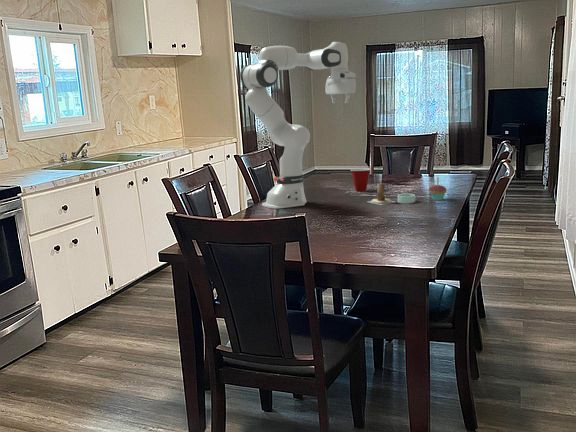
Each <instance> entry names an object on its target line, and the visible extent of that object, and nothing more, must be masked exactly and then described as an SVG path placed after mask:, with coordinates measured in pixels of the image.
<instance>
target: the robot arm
mask: <svg viewBox="0 0 576 432" xmlns="http://www.w3.org/2000/svg"><path fill="white" fill-rule="evenodd" d="M348 63H349V52H348V46H347V44H346V43H345V42H343V41H332V42H331V43H330V44H329V45H328V46H327V47H324V48H321V49H312V50H309V51H308V52H306V53H300V52H299V53H298V52H297V50H296V49H295V47H293V46H288V45H272V46H265V47H263V48H262V49H261V50H260V51H259V55H258V62H256V63H251V64H247V65H245V66H244V67H242V69H241V71H240V73H239V80H240V82H241V83H242V85H243V88H244V90H245V91H246V94H245V97H244V99H245V102H246V104H247V105H248V107H249V108H250V111H252V113H253V114H254V115H255V116H256V117H257V118H258V120H259V121H260V122H261V123H262V124H263V125H264V126H265V128H266V129H267V130H268V132H269V138H270V140H271V142H272V143H273V144H275V145H278V146H280V147H284V149H283V154H282V155H281V156H280V158H279V162H278V163H279V176H273V181H276V182H277V183H276V184H275V185H274V186H273V187H272V188H271V189H270V190H269V191H268V192H267V194H266V200H265V202H262V203H261V205H262V206H263V207H264V208H268V209H275V210H278V209H285V208H293V207H294V208H295V207H301V206H305V204H306V203H307V202H308V201H307V199H306V194H305V191H304V190H305V189H304V174H303V156H304V151H305V148H306V146H307V145H308V144H309V143H310V140H311V133H310V130H309V129H308V128H307V127H305V126H303V125H301V124H294V123H293V124H291V123H289V122H288V121H287V120H286V118H285V113H284V110H283V109H282V108H281V107H280V106H279V104H278V103H277V102H276V100H274V99H273V97H272V96H271V95H270V94H269V93H268V89H267V88H270V87H273V86H274V85H275V84H277V82H278V79H279V71H285V70H286V71H287V70H292V69H295V68H296V67H304V68H306V69H308V70H310V71H318V70H326V69H330V75H329V76H328V77H327V78H326V82H325V88H324V89H325V94H326V96H327V95H330V98H331V102H332V104H338V101H337V99H336V95H343V94H344V95H345V99H344V104H349V103H350V98H351V94H355V93H356V91H357V82H356V81H357V80H356V79H355V78H356V77H357V76H356V73H355V72H352V71H350V70H349V66H348V65H349V64H348Z"/></svg>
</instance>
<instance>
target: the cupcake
mask: <svg viewBox="0 0 576 432" xmlns="http://www.w3.org/2000/svg"><path fill="white" fill-rule="evenodd" d="M436 180H437V181H436V184H435V185H432V186H430V187H428V193H430V195H431V199H432V200H433V201H444V197H445V194H446V193H447V192H448V191H447V190H448V189H447V188H446V187H445V186H443V185H441V184H439V183H440V182H439V176H437V177H436Z"/></svg>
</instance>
